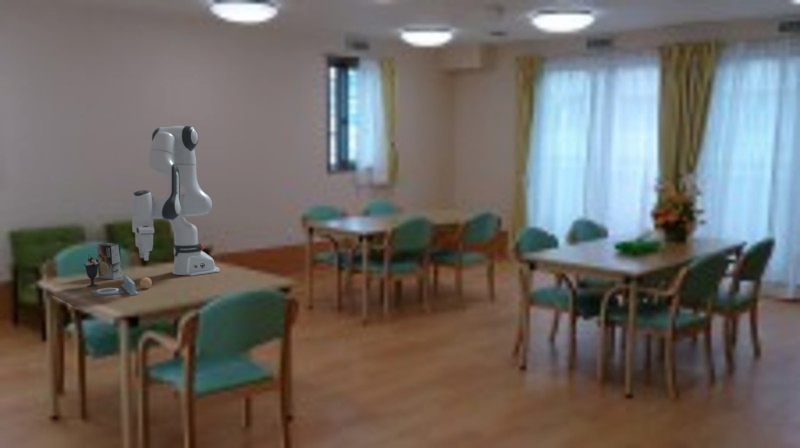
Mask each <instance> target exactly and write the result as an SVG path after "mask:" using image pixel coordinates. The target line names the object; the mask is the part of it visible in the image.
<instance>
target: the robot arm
mask: <svg viewBox="0 0 800 448" xmlns="http://www.w3.org/2000/svg"><path fill="white" fill-rule="evenodd" d="M151 140H152V143H151V144H150V149H149V153H148V159H147V160H148V165H149V167H150V169H151V170H152V171H154V173H156V174H158V175H161V176H164V178H166V179H167V181H168V182H167V187H168V191H167V192H168V193H167V194H163V195H161V196H159V197H158V196H157V197H156V196H152V193H151V191H150V190H146V189H145V190H144V189H143V190H137V191H135V192H133V194H132V197H131V214H132V220H131V226H132V228H131V229H132V233H134V236H135V238H134V241H135V247H137V248H138V252H139V257H140V258H141V259H143V260H144V261H145V262H146V261H149V259H150V258H149V256H150V252H151V251H153V247H154V234H155V227H154V220H155V219H160V220H163V219H164V220H168V221H169V223H170V224H171V227H172V230H173V237H174V239H173V240H174V245H173V256H174V262H173V269H172V274H173V275H178V276H179V275H180V276H189V277H190V276H192V277H193V276H198V275H205V274H206V275H207V274H213V273H219V272H221V271H220V268H219V267H218V266H216V264H215V261H214V258H213V257H211V256H210V255H209V254H207V253H206V252H205V251H203V250H204V249H205V248H206V246H205V245H204V244H201V243H199V238H198V235H199V234H198V228H197V226H196V225H195V224H193V223H191V222H189V221H187V220H186V218H185V217H199V216H204V215H208V214H210V212H211V210H212V207H213V202H212V199H211V198H210V196H209V195H208V194H206V192H204V191H203V190H202V188H201V187H200V185H199V182H198V176H197V158H196V151H195V147H196V146H197V145H198V142H199V133H198V130H197V129H196V128H195V127H193V126H190V125H185V126H184V125H173V126H166V127H158V128H156V129H154V131H153V132H152V135H151ZM180 187H182V188H184V190H185V192H184V193H181V192H180Z"/></svg>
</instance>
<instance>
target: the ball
mask: <svg viewBox="0 0 800 448" xmlns="http://www.w3.org/2000/svg"><path fill="white" fill-rule="evenodd" d="M152 285H153V283H152V279H151V278H149V277H143V278H141V279H140V281H139V286H140V287H141V288H142V289H145V290H147V289H149V288H151V287H152Z"/></svg>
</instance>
